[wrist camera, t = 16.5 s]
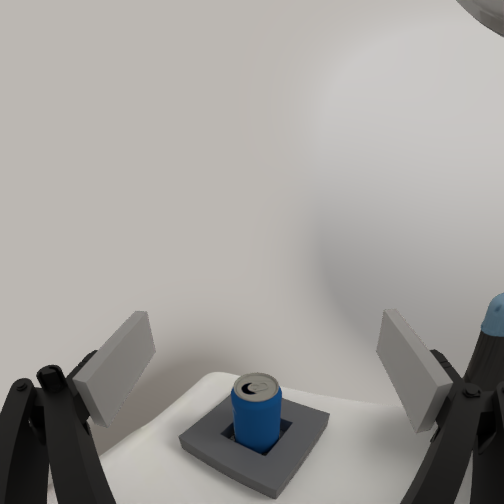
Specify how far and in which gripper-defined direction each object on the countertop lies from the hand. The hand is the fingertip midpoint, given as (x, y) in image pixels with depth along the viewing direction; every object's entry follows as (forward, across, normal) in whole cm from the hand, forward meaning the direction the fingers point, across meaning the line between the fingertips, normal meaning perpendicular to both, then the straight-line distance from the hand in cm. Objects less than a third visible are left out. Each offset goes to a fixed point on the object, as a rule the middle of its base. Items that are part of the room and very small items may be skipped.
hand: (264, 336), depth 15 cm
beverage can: (+14, -2, -28) cm, 32 cm away
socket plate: (+14, -2, -28) cm, 32 cm away
